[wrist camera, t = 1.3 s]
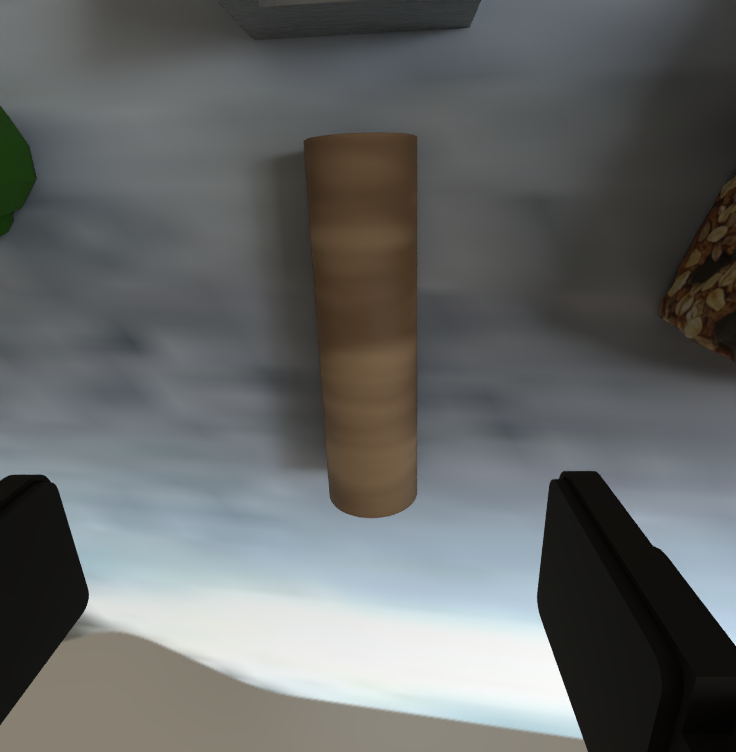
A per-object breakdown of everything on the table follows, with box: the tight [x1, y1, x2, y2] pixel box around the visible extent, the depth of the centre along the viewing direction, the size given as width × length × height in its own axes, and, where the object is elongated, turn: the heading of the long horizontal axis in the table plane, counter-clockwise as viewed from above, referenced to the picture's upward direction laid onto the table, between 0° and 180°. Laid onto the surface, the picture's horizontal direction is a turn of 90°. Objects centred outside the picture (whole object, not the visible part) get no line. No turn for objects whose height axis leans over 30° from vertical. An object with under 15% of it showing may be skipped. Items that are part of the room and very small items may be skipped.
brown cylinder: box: [304, 133, 417, 518], centre depth 22 cm, size 16×4×4 cm, turn 2°
